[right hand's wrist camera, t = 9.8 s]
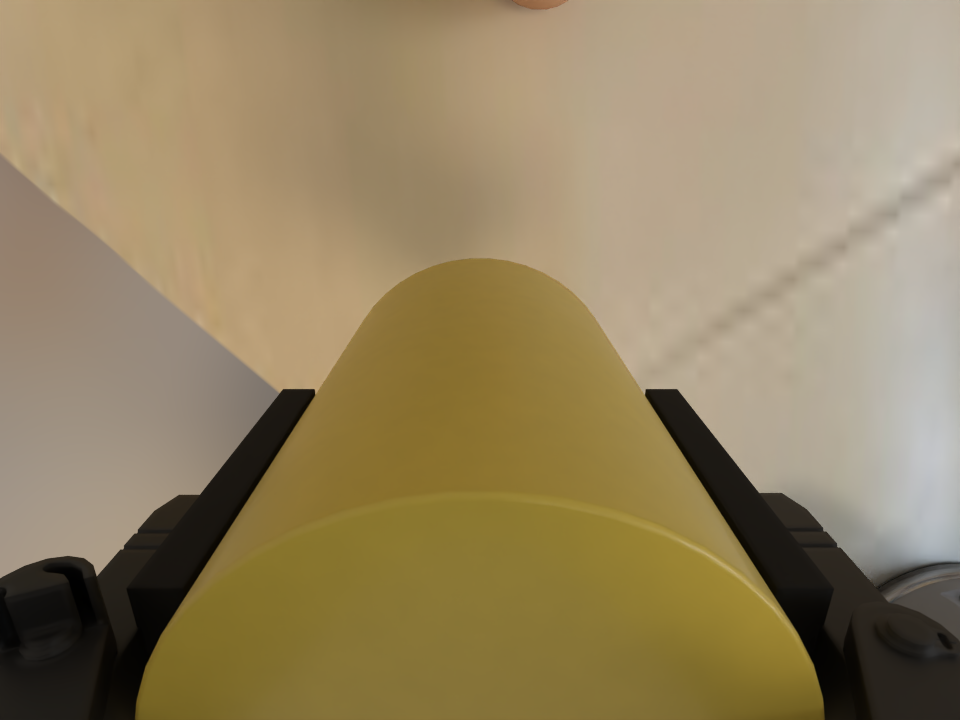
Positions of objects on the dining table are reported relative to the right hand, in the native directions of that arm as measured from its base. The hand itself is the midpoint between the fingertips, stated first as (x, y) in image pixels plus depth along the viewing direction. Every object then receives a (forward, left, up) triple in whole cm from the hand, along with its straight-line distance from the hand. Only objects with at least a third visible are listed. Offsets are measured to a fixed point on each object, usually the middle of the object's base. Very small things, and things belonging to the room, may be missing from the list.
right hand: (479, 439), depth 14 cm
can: (0, 0, -3) cm, 3 cm away
